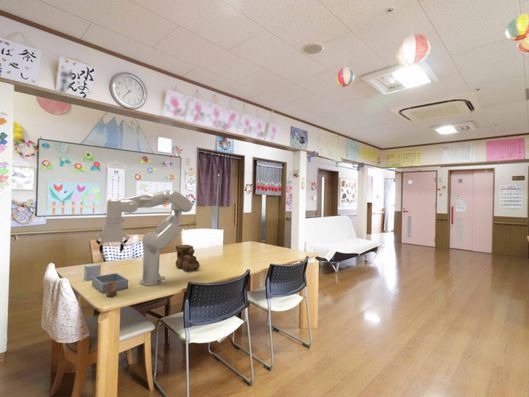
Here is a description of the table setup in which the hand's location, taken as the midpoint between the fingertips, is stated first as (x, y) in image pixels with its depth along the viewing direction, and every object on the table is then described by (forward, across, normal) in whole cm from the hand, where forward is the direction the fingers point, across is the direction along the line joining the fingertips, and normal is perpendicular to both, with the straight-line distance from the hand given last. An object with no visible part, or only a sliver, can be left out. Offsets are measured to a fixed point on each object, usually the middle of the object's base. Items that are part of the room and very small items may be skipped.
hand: (111, 252), depth 154 cm
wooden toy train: (+21, -55, -29) cm, 65 cm away
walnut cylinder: (+23, -1, +5) cm, 23 cm away
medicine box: (+23, +6, -32) cm, 39 cm away
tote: (+22, -2, -10) cm, 25 cm away
